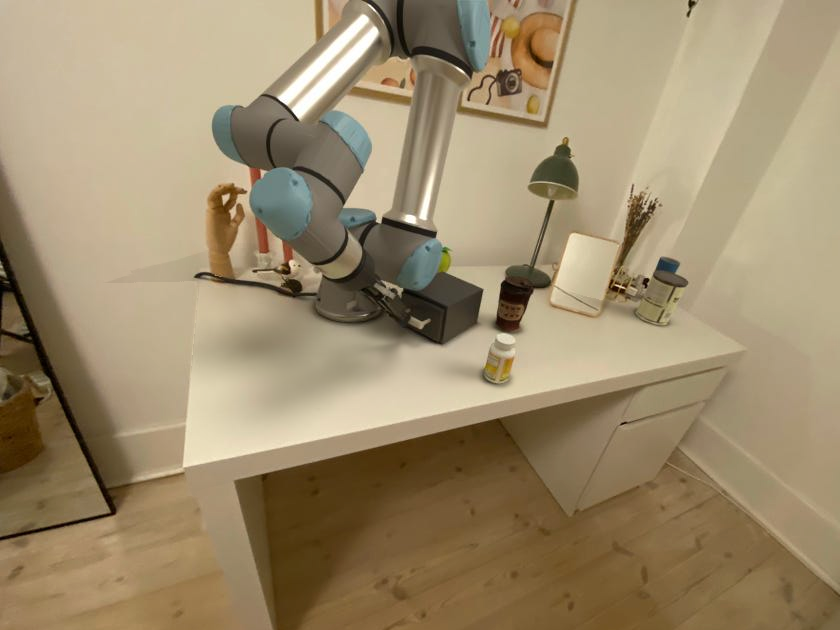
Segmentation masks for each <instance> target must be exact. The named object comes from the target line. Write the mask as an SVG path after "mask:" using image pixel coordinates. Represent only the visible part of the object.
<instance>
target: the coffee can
mask: <svg viewBox="0 0 840 630" xmlns="http://www.w3.org/2000/svg"><path fill="white" fill-rule="evenodd" d="M688 285H689V281H688V279H686V277H683V276H682V275H680V274H677V273H675V274H674V273H671V272H667V271H661V270H657V271H655V270H654V271H653V273H652V276H651V278H650V280H649V283H648V284H647V287H646V289H645V291H644V294H643V296H642V298H641V300H640V301H639V302H640V303H639V304H638V306H637V309H636V310H635V315H636V316H637V317H638V318H639V319H640V320H642V321H644V322H647V323H649V324H652V325H655V326H667V325H668V323H669V321H670V319H671V317H672V316H673V315H672V314H673V313H674V311H675V309H676V307H677V305H678V304H679V302H680V299H681V297H682V295H683V293H684V292H685V290H686V288H687V286H688Z"/></svg>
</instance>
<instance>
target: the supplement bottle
mask: <svg viewBox="0 0 840 630" xmlns="http://www.w3.org/2000/svg"><path fill="white" fill-rule="evenodd" d="M515 345H516V339H515V337H514V336H513V335H511V334H509V333H504V332H502V333H498V334H496V336H495V339H494V342H493V343H491V344H490V346H489V349H488V352H487V353H488V354H487V358H486V362H485V366H484V370H483V376H484V378H485V380H487V381H488V382H491V383H493V384H503V383H506V382H507V381H508V380H509V378H510V374H511V370H512V368H513V367H512V366H513V363H514V360H515V357H516V348H515Z"/></svg>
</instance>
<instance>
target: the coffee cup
mask: <svg viewBox="0 0 840 630" xmlns="http://www.w3.org/2000/svg"><path fill="white" fill-rule="evenodd" d="M533 285H534V282H533V281H532V280H530V279H528V278H527V277H523V276H516V275H511V276H505V278H504V280H503V281H501V282H500V289H499V296H498V303H497V308H496V319H495V326H496V327H497V328H498V329H500V330H502V331H505V332H518V331H519V330H520V326H521V325H520V324H521V322H522V319H523V317H524V315H525V313H526V311H527V309H528V305H529V302H530V299H531V296H532V295H533V294H534V292H535V289H534V287H533Z"/></svg>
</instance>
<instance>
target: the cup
mask: <svg viewBox="0 0 840 630" xmlns="http://www.w3.org/2000/svg"><path fill="white" fill-rule="evenodd" d="M680 265H681V262H680V261H679V260H677V259H675V258H672V257H669V256H659V259H658V261H657V263H656V265H655V266H656V267H655V269H654V271H657V270H661V271H667V272H671V273H674V274H677V271H678V269H679V267H680Z"/></svg>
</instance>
